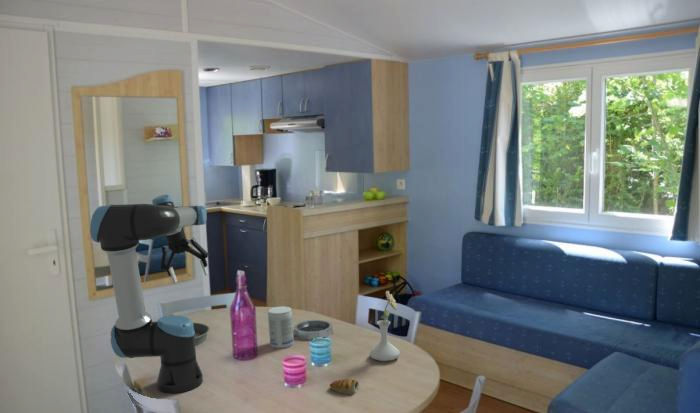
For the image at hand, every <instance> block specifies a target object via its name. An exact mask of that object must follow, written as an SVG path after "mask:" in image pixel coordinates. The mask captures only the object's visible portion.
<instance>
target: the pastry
mask: <svg viewBox="0 0 700 413" xmlns="http://www.w3.org/2000/svg"><path fill="white" fill-rule="evenodd" d="M329 387H330V389H331V391H333V392H335V393H339V394H345V395H355V394H356V393H357V391H358V389H359V388H360V384H359V380H358V379H354V378H344V379H337V380H334V381H332V382H331V383H330V384H329Z"/></svg>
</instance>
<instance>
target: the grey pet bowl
mask: <svg viewBox="0 0 700 413" xmlns="http://www.w3.org/2000/svg"><path fill="white" fill-rule="evenodd" d="M333 330H334V329H333V323H332V322H330V321H328V320H321V319H309V320H304V321H300V322H297V323H296V324H294V326H293V337H294V338H297V339H299V340H300V339H301V340H305V339H306V340H309V341H310V339H313V338H317V337H326V338H328V337H330V336H331V335H333V334H332V333H334V332H333ZM330 334H331V335H330ZM329 335H330V336H329Z"/></svg>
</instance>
